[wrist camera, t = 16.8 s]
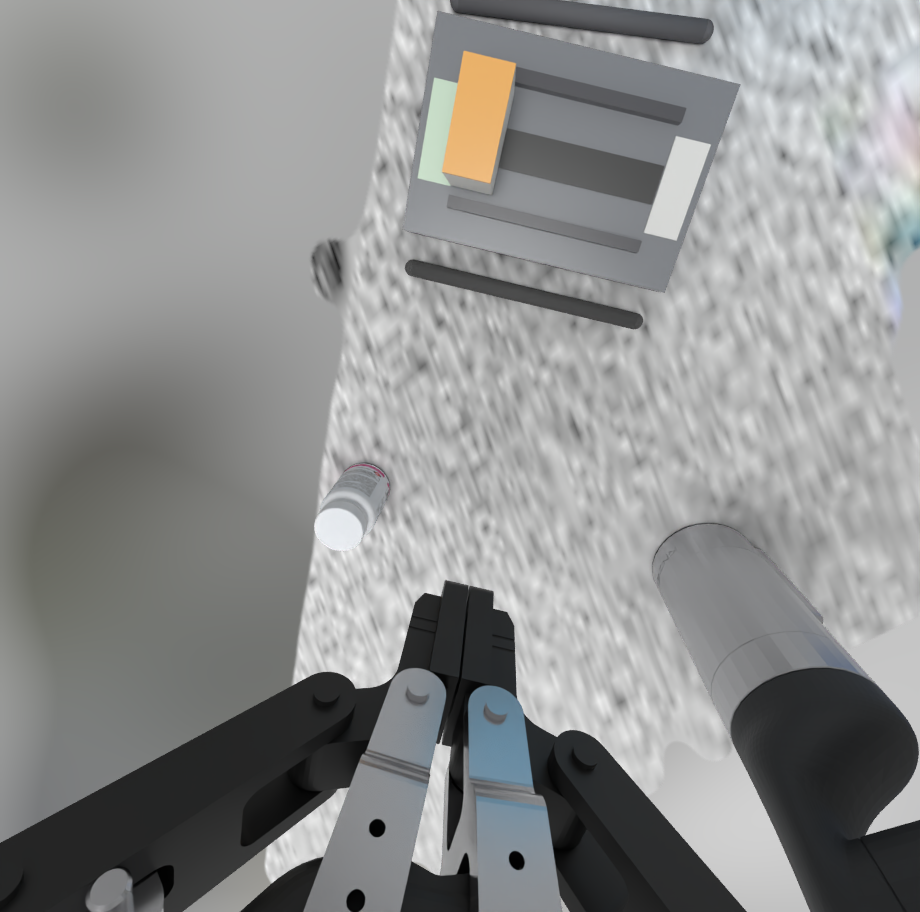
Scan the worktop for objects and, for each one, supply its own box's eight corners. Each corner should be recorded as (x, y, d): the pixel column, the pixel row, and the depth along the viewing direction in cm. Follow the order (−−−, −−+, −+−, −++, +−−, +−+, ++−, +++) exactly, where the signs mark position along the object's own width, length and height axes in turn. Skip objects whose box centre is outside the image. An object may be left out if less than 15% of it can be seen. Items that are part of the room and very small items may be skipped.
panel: (726, 94, 33) (746, 79, 30) (656, 291, 38) (667, 293, 35) (441, 25, 33) (435, 4, 30) (407, 231, 38) (400, 228, 35)
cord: (711, 25, 32) (719, 16, 30) (705, 47, 32) (713, 39, 31) (452, -8, 32) (450, -18, 31) (450, 15, 32) (448, 6, 31)
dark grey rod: (642, 314, 38) (646, 316, 37) (637, 329, 39) (641, 331, 38) (408, 258, 38) (405, 258, 37) (405, 274, 39) (402, 274, 38)
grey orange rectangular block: (514, 94, 32) (516, 63, 27) (491, 195, 34) (490, 183, 29) (469, 84, 32) (463, 50, 27) (450, 185, 34) (441, 171, 29)
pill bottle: (332, 473, 46) (297, 516, 38) (374, 454, 45) (347, 493, 37) (357, 514, 47) (329, 563, 39) (399, 496, 46) (378, 543, 38)
